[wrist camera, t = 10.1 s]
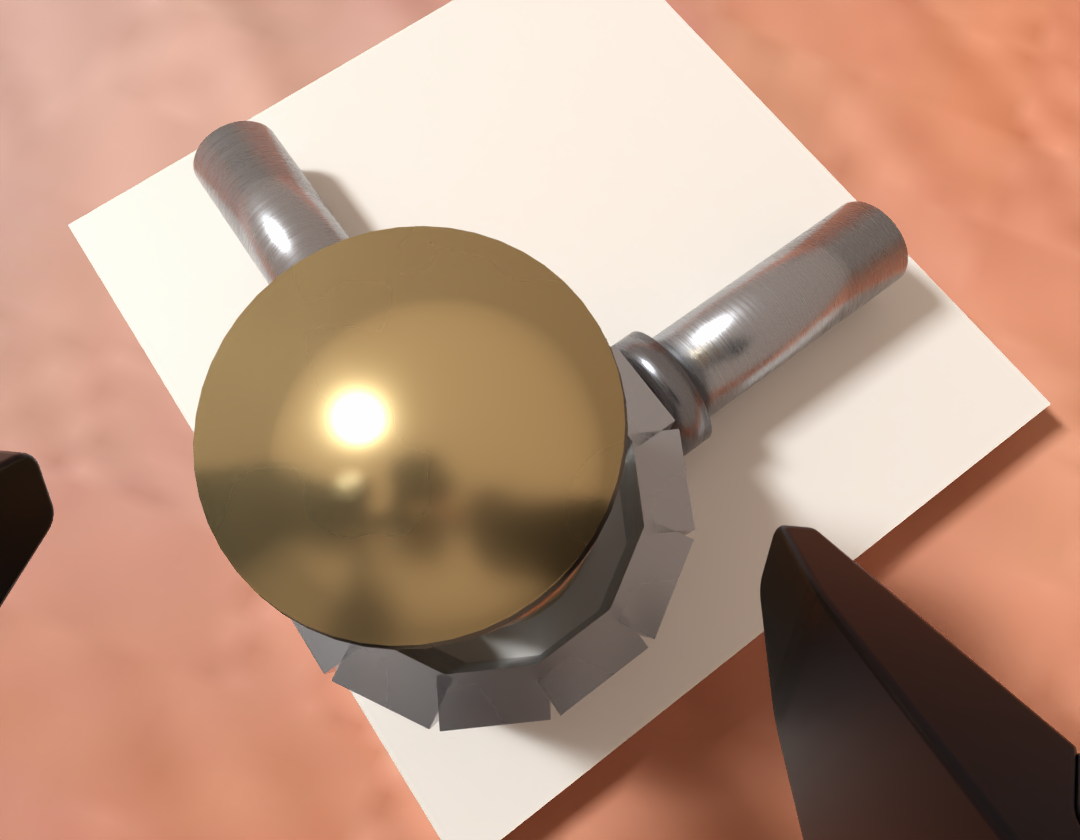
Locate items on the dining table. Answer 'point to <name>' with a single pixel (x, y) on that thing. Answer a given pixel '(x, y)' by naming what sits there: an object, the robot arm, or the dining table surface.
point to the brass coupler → (411, 438)
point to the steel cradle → (652, 412)
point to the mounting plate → (618, 307)
